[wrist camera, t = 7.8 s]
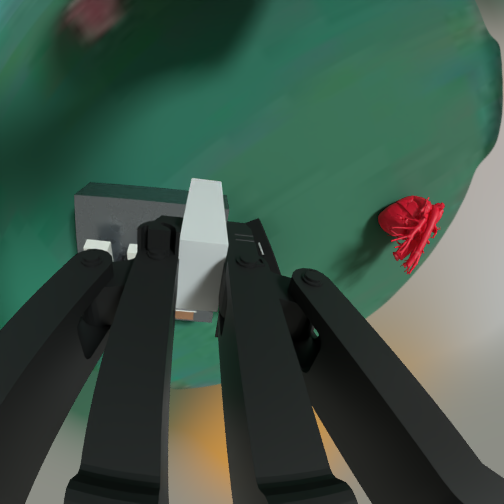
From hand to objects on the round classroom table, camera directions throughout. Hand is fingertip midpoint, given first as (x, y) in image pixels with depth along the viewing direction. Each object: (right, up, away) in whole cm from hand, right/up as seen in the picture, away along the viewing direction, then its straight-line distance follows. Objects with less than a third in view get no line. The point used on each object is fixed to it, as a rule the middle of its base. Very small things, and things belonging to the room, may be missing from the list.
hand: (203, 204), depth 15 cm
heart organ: (+28, +5, +33) cm, 44 cm away
